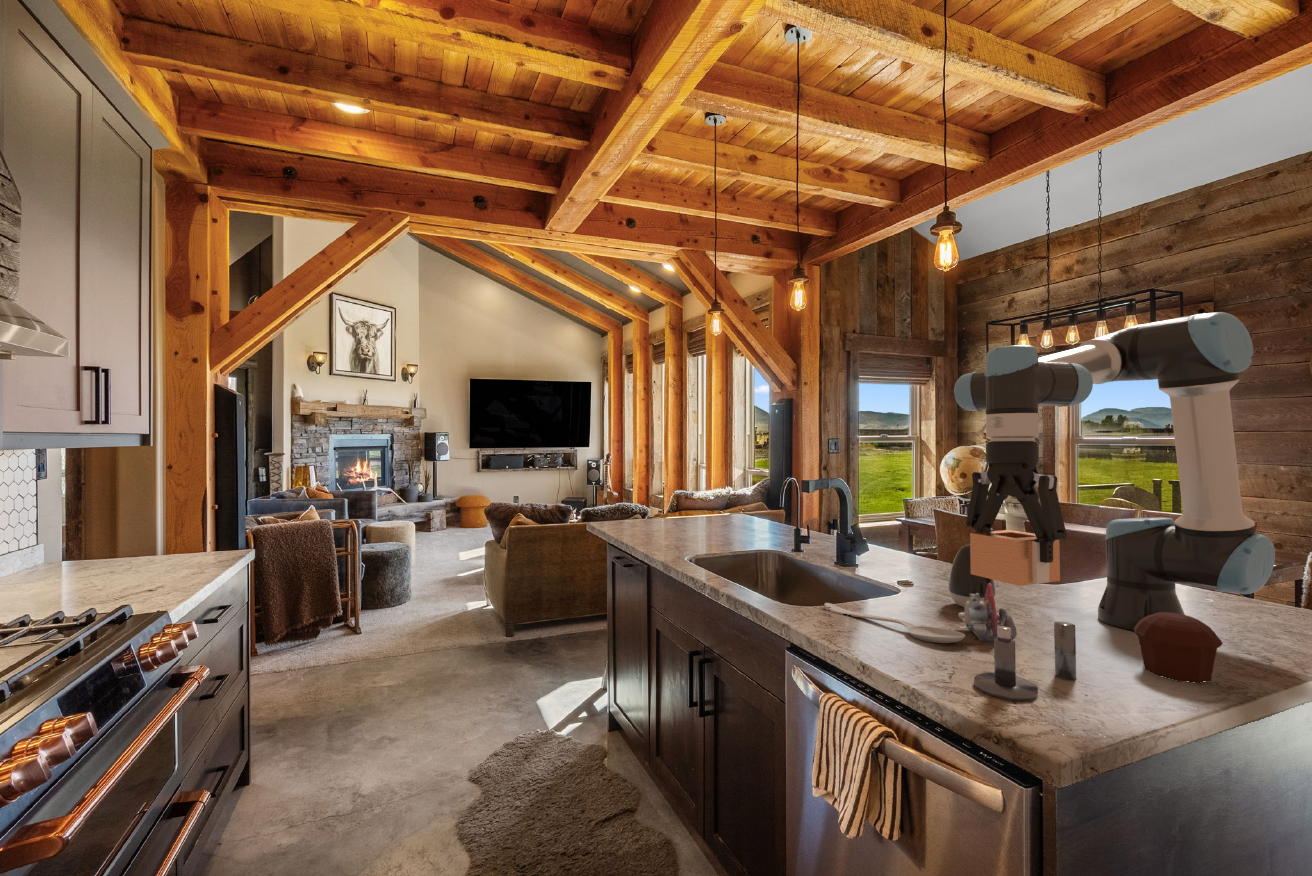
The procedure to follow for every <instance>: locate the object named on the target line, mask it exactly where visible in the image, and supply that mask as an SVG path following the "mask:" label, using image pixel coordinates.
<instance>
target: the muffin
mask: <svg viewBox="0 0 1312 876" xmlns="http://www.w3.org/2000/svg"><path fill="white" fill-rule="evenodd" d="M1134 630H1135V631H1134ZM1134 630H1133V631H1134V632H1135V634H1136V636H1137V637H1138V642H1139V643H1138V644H1139V647H1140V653H1141V656H1142V657H1141V658H1142V663H1143V667H1144V670H1145V671H1147V672H1150V673H1152V675H1155V676H1156V675H1157V676H1156V677H1160V676H1163V677H1162V678H1164V677H1166V678H1165V679H1168V678H1170V679H1169V680H1171V679H1173V680H1172V681H1175V680H1177V681H1176V682H1181V681H1189V682H1188V683H1191V682H1195V683H1194V684H1201V683H1200V682H1203V681H1212V677H1213V672H1214V668H1215V667H1214V665H1215V661H1216V655H1217V650H1218V648H1220V647H1221V646H1223V645H1224V644H1223V642H1222V640H1221V639H1220V637H1219V636H1218V634H1216V632H1215V631H1214V630H1213V629H1212V628H1211V627H1210V626H1209V625H1207V624H1206V623H1204V622H1203V621H1201V620H1199V619H1197V618H1195V617H1193V616H1190V615H1186V614H1185V615H1183V614H1178V613H1171V612H1159V613H1155V614H1152V615H1149V616H1146V617H1144V618H1142V619H1141V620H1140V621H1139V622H1138V623H1137V625H1136V626H1135V627H1134ZM1203 683H1204V682H1203Z"/></svg>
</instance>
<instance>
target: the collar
mask: <svg viewBox="0 0 1312 876" xmlns="http://www.w3.org/2000/svg"><path fill="white" fill-rule="evenodd" d="M969 537H970V538H969V539H970V541H969V544H970V560H971V574H972V575H977V576H981V577H985V578H989V579H993V580H994V581H998V582H1002V583H1006V584H1010V585H1014V586H1018V587H1021V586H1028V585H1036V583H1033V571H1032V541H1034V539H1037V538H1036V535H1035V533H1034V532H1033V533H1032V532H1025V531H1020V530H1013V529H1004V530H993V531H988V532H975V531H974V532H970V533H969ZM1060 546H1061V545H1060V539H1059V540H1055V541H1054V543H1053V561H1052V562H1050V563H1049V582H1048V583H1053V582H1060V581H1061V560H1060V559H1061V558H1060V557H1061V556H1060V555H1061V554H1060V553H1061V552H1060V551H1061V547H1060Z"/></svg>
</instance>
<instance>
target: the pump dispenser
mask: <svg viewBox="0 0 1312 876" xmlns="http://www.w3.org/2000/svg"><path fill="white" fill-rule="evenodd" d="M953 559H954V560H953V562H952V564H951V568H950V572H949V579H948V591H949V593H950V596H951V598H952V600H953V601H954V603H955V604H956V605H957V606H960V607H961V608H963V609H964V606H965V603H966V602H967V601H969V598H970V595H969V594H976V593H979V596H980V601H984V597H985V593H986V589H987V585H988V584H989V583H991V584H992V588H993V594H994V597H995V596H996V593H997V590H996V589H997V587H996V581H995V580H993V579H989V578H985V577H981V576H977V575H972V574H971V560H970V543H969V544H964V545H962V546H961V548H960V549H959V550H958V551H957V553H956V554H955V557H954V558H953Z"/></svg>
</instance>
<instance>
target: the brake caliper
mask: <svg viewBox="0 0 1312 876" xmlns="http://www.w3.org/2000/svg"><path fill="white" fill-rule="evenodd" d="M969 595H970V598H969V601H967V602H966V603H965V606H964V608H963V610H964V611H963V612H958V613H957V614H958V618H960V619H961V620H962V621H963V622H964V624H965V626H964V625H963V626H960V627H959V629H962V630H963V629H964V630H968V631H970V632H972V633H974V634H975V636H976V637H977V638H978V639H979V640H980V641H982V642H989V643H990V642H991V643H994V638H997V627H999V626H1004V627H1009V628H1011V639H1012V640H1014V639H1016V637H1017V635H1018V633H1017V627H1016V625H1015V622H1014V619H1013V617H1012V615H1011V614H1009V613H1007V612H1008V611H1007V610H1006V609H1005V608H1004V607H1000V608H999V610H998V612H997V607H996V601H995V596H994V594H993V588H992V584H991V583H989V584H988V585H987V589H986V593H985V597H984V601H980V596H979V593H976V594H969ZM997 613H998V614H997Z"/></svg>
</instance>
